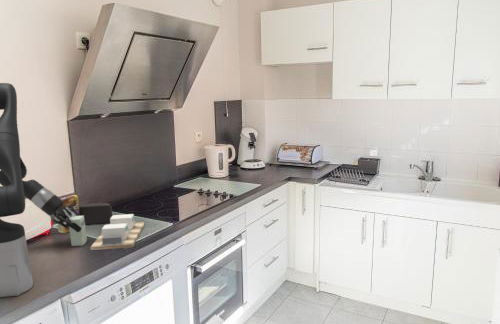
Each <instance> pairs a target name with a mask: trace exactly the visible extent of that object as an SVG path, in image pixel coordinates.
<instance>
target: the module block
mask: <svg viewBox="0 0 500 324" xmlns="http://www.w3.org/2000/svg"><path fill="white" fill-rule="evenodd" d="M71 219H72V221H73V222H74V223H76V224H77V225H79V226H80V227H81V228H82V229H81V230H80V231H79V232H76V231H75V230H74V229H72V228H71V227H69V230H70V231H69V235H70V236H69V238H70V242H71V247H75V246H76V247H77V246H79V247H80V246H84V245H85V244H86V243H87V241H88V237H87V231H86V225H85V221H84V216H73V217H71ZM68 221H69V220H68Z"/></svg>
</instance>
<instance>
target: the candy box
mask: <svg viewBox="0 0 500 324" xmlns="http://www.w3.org/2000/svg"><path fill="white" fill-rule="evenodd" d="M59 198H60V199H61V200H63V201H64V203H63V205H64V206H66V207H69V206H72V207H73V208H74V209H75V210H76V211H77V212H78V213H79V205H80V204H79V196H78V195H76V194H70V195H68V196H64V197H59ZM79 214H80V213H79ZM70 216H71V215H70ZM60 221H61V220H60ZM56 224H57V230H58V231H57V232H58V233H59V234H66V233H70V230H69V227H67V228H65V227H63V226H62V225H60V224H58V223H56ZM65 225H66V224H65Z"/></svg>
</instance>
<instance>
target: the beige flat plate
mask: <svg viewBox="0 0 500 324" xmlns="http://www.w3.org/2000/svg"><path fill="white" fill-rule="evenodd" d="M136 222H137V221H135V223H136ZM131 230H132V229H128V233H130V231H131ZM124 241H125V239H124V240H122V242H121V243H114V244H103V243H102V244H101V246H110V245H122V244H123V242H124Z"/></svg>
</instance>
